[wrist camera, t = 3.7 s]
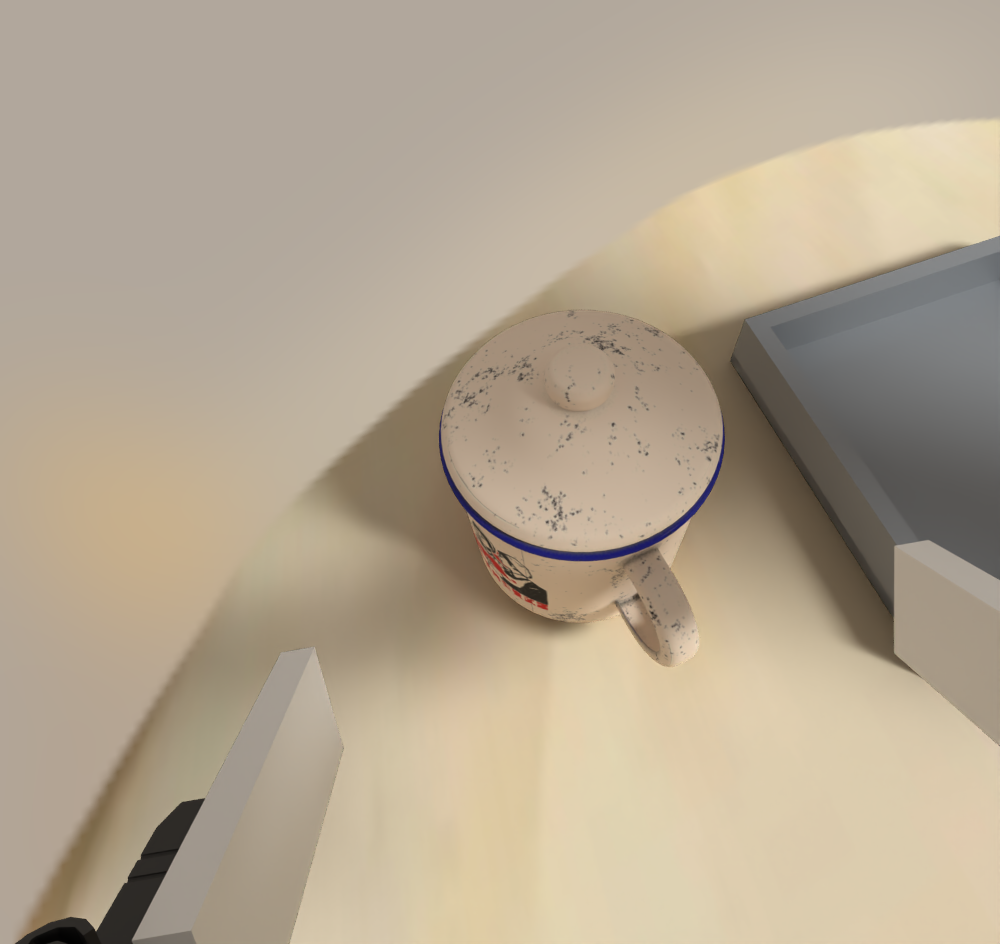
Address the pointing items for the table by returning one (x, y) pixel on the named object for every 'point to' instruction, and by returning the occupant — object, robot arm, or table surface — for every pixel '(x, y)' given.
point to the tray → (892, 406)
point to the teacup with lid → (586, 469)
